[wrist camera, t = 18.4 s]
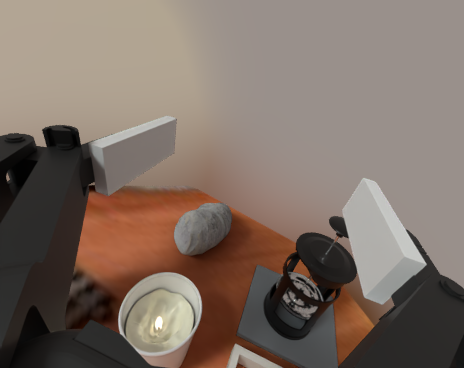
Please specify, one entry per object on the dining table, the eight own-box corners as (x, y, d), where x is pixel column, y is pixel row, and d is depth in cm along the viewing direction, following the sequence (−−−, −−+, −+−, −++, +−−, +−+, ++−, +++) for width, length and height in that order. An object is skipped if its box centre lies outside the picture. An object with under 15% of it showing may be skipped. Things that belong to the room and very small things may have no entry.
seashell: (219, 211, 62) (225, 183, 57) (245, 249, 53) (256, 219, 47) (163, 223, 54) (165, 191, 49) (183, 270, 44) (187, 237, 39)
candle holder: (142, 308, 37) (141, 265, 30) (198, 320, 37) (208, 279, 31) (109, 383, 28) (98, 345, 22) (181, 397, 29) (191, 364, 22)
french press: (271, 346, 35) (336, 257, 23) (253, 291, 42) (295, 202, 30) (328, 333, 39) (410, 251, 26) (303, 285, 46) (358, 203, 34)
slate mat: (336, 385, 33) (339, 383, 33) (236, 335, 36) (237, 332, 36) (330, 299, 46) (332, 297, 45) (256, 267, 49) (257, 264, 48)
